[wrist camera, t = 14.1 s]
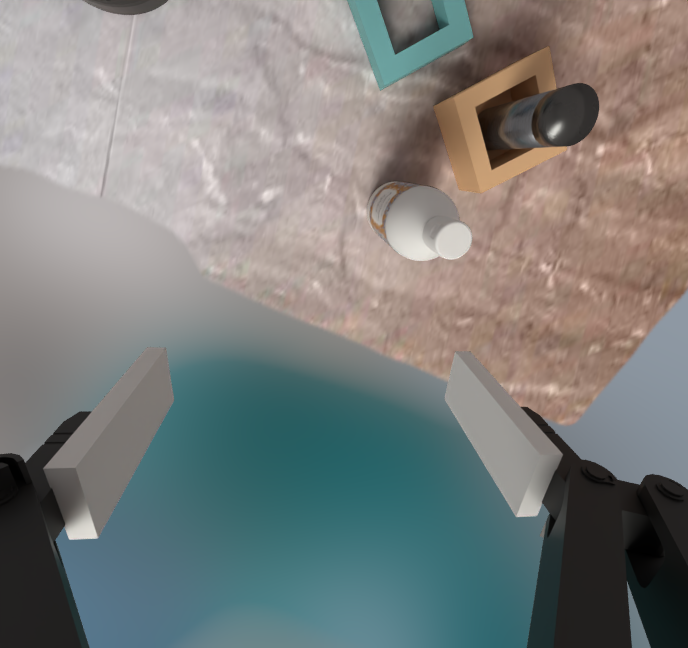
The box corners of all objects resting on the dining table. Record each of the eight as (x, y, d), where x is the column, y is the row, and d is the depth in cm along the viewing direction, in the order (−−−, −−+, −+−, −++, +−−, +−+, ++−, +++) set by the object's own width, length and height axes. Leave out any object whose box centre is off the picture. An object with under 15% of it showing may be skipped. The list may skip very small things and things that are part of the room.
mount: (340, -18, 35) (343, -31, 33) (433, -72, 34) (442, -89, 32) (380, 90, 39) (384, 86, 37) (463, 44, 38) (473, 37, 36)
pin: (467, 119, 40) (540, 101, 28) (503, 99, 40) (594, 71, 27) (478, 157, 42) (551, 156, 29) (512, 138, 42) (602, 130, 29)
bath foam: (381, 170, 42) (440, 174, 24) (429, 196, 44) (517, 217, 26) (356, 224, 45) (392, 263, 27) (402, 246, 47) (466, 298, 28)
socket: (433, 106, 40) (453, 97, 35) (515, 62, 39) (549, 45, 34) (459, 189, 44) (480, 193, 39) (533, 151, 43) (567, 149, 38)
